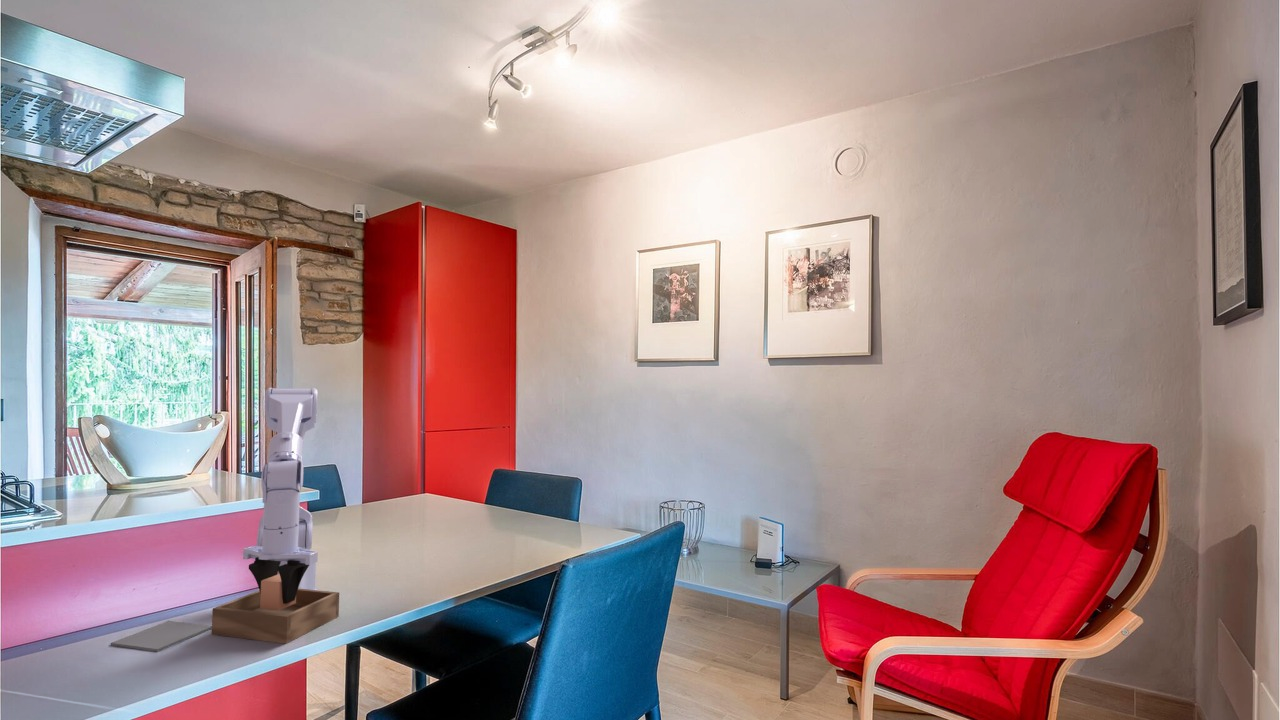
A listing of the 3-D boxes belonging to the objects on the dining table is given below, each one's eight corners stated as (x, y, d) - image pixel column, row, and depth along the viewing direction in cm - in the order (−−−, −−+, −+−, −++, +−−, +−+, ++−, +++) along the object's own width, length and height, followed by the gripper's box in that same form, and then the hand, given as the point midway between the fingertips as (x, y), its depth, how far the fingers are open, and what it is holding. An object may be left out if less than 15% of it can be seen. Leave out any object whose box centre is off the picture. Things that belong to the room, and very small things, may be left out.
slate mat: (168, 622, 112) (168, 620, 112) (213, 628, 110) (213, 625, 110) (110, 645, 102) (110, 642, 102) (158, 651, 100) (158, 649, 100)
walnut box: (269, 609, 119) (270, 585, 119) (338, 616, 116) (339, 592, 116) (211, 634, 107) (212, 608, 107) (286, 643, 103) (287, 616, 104)
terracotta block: (277, 601, 114) (278, 574, 114) (295, 603, 113) (296, 575, 113) (260, 608, 110) (261, 580, 110) (278, 610, 109) (279, 582, 109)
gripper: (229, 528, 110) (226, 604, 109) (297, 533, 106) (295, 612, 106) (261, 520, 117) (259, 591, 116) (326, 524, 113) (324, 598, 113)
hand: (278, 600), depth 111 cm, fingers closed on terracotta block, 4 cm apart
